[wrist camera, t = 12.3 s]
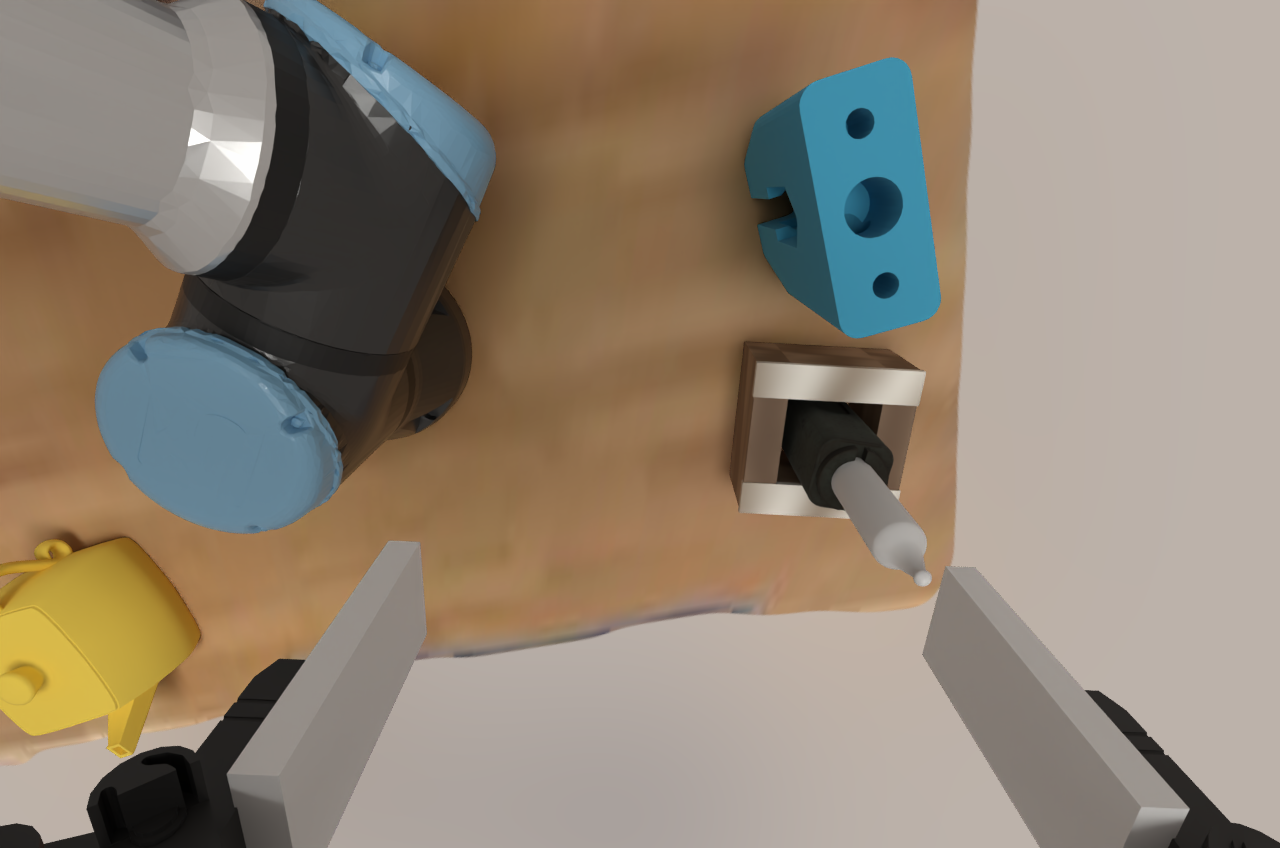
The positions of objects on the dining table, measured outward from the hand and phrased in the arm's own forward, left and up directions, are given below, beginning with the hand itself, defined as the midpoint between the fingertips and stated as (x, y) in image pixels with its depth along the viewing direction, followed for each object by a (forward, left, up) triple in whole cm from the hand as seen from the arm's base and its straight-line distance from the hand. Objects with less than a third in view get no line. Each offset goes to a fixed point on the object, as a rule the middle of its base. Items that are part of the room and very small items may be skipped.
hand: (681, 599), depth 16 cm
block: (+9, +9, -38) cm, 41 cm away
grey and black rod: (+13, -8, -38) cm, 41 cm away
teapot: (-50, -32, -38) cm, 70 cm away
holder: (+13, -8, -38) cm, 41 cm away
